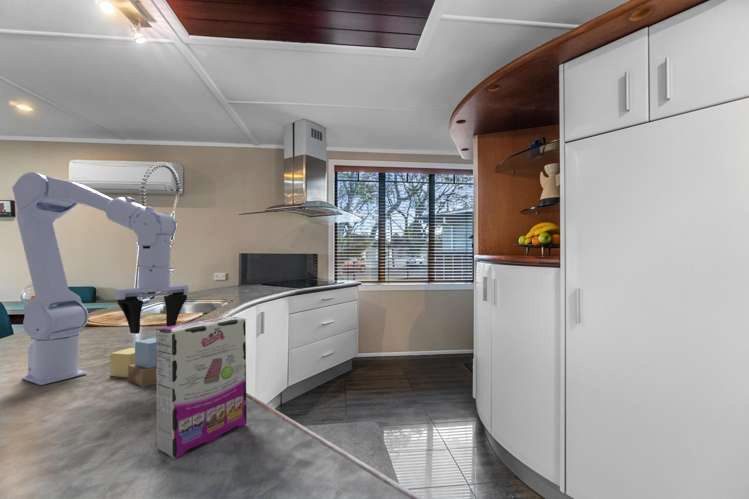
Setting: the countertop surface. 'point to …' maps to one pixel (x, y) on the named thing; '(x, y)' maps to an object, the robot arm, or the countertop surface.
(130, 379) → the walnut block
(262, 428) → the countertop surface
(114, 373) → the mustard cube
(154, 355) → the blue cube
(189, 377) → the candy bar box
